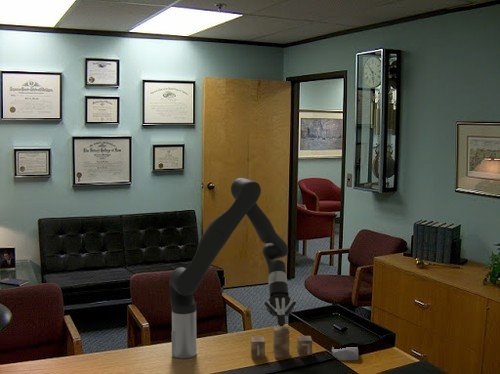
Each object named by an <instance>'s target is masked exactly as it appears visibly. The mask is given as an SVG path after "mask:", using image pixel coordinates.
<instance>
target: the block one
mask: <svg viewBox="0 0 500 374" xmlns="http://www.w3.org/2000/svg"><path fill="white" fill-rule="evenodd" d="M250 355H251V356H250V357H251V359H266V341H265V336H251V337H250Z"/></svg>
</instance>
